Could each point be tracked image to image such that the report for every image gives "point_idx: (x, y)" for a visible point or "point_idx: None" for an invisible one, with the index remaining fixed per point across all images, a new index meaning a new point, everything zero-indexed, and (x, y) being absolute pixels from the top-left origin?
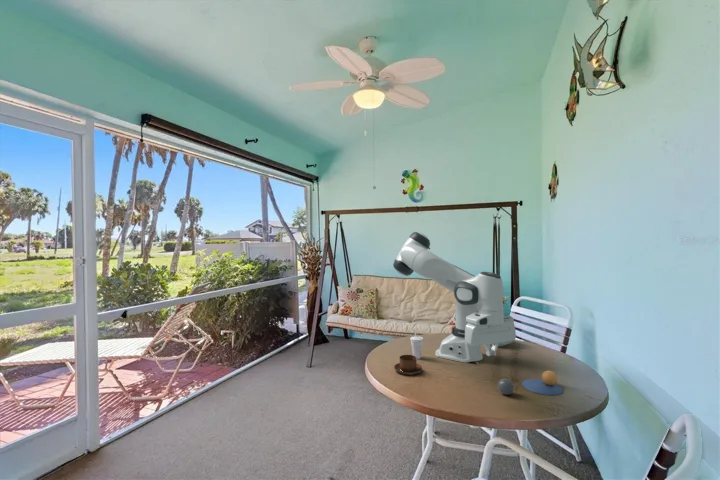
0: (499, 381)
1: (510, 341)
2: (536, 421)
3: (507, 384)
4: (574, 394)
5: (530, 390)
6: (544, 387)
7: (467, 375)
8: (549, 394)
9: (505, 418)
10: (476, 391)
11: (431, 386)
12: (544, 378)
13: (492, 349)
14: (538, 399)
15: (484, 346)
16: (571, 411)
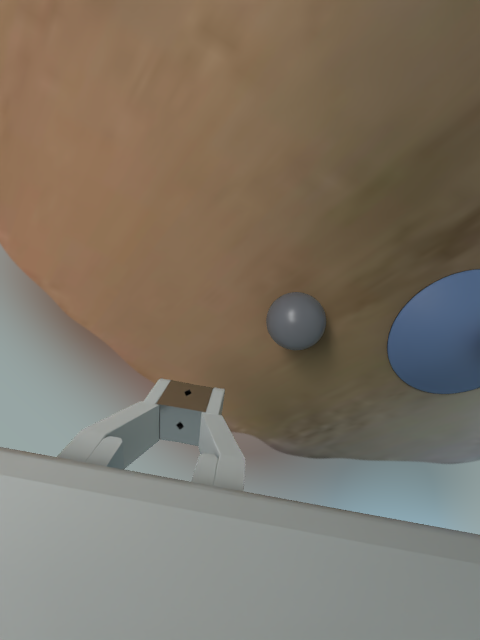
0: (280, 312)
1: None
2: None
3: (282, 345)
4: (473, 412)
5: (389, 337)
6: (458, 347)
7: (318, 66)
8: (406, 382)
9: None
10: (217, 245)
11: (73, 104)
12: None
13: (201, 427)
14: (344, 380)
15: (93, 434)
16: (345, 447)
